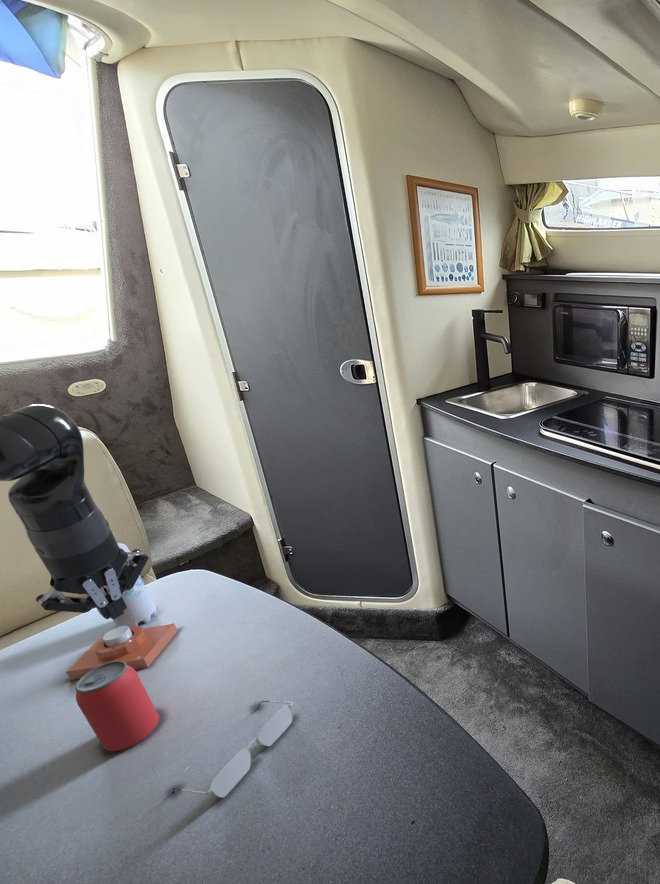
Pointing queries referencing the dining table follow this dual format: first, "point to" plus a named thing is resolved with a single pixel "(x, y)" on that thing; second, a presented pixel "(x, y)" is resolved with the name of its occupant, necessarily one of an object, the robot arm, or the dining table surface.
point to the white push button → (117, 636)
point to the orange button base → (125, 650)
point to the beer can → (116, 705)
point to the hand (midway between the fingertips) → (115, 614)
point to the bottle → (135, 602)
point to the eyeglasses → (243, 758)
